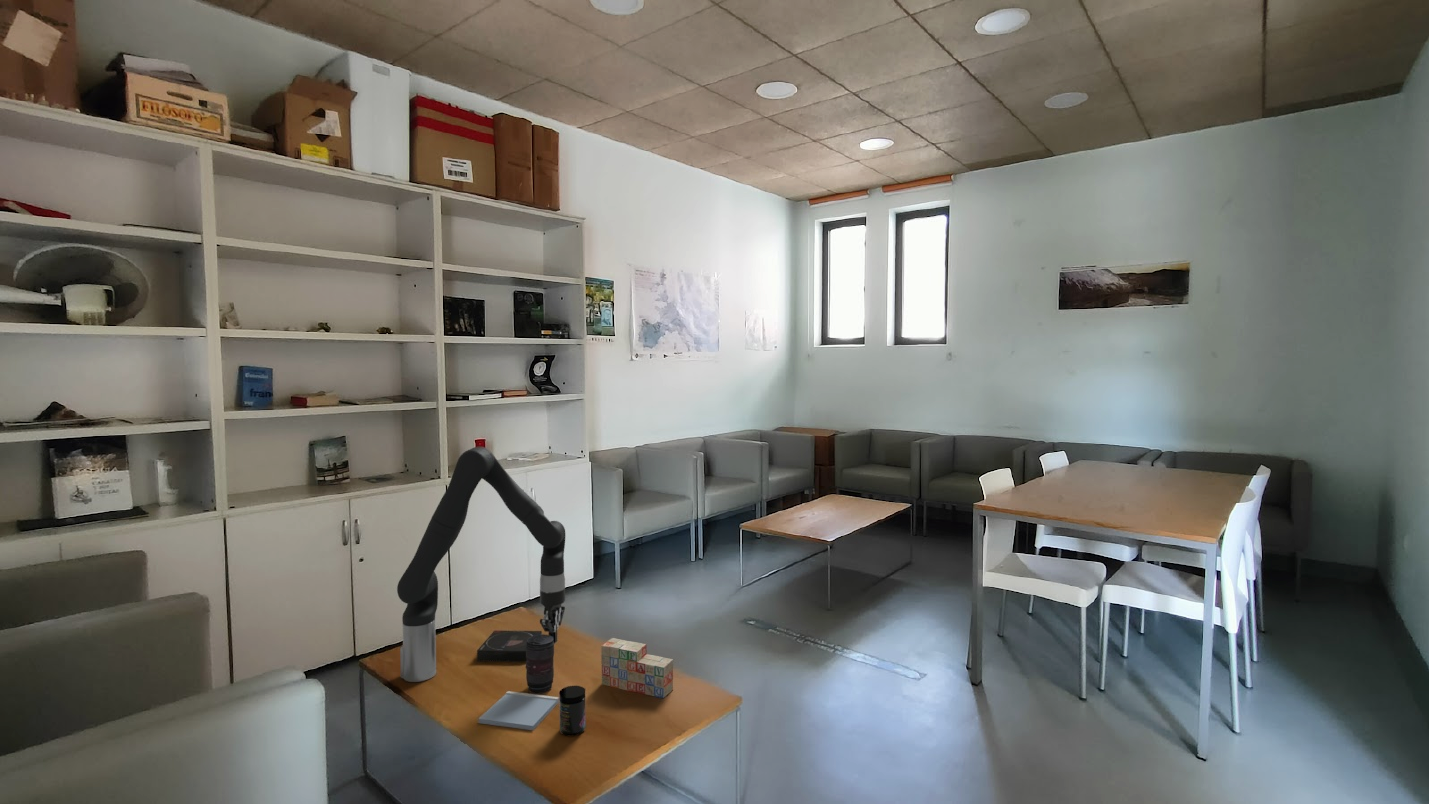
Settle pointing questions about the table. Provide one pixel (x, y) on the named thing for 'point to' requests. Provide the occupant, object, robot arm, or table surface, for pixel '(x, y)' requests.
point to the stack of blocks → (635, 668)
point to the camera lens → (539, 663)
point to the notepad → (519, 710)
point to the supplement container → (572, 710)
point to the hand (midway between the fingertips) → (552, 642)
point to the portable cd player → (505, 646)
